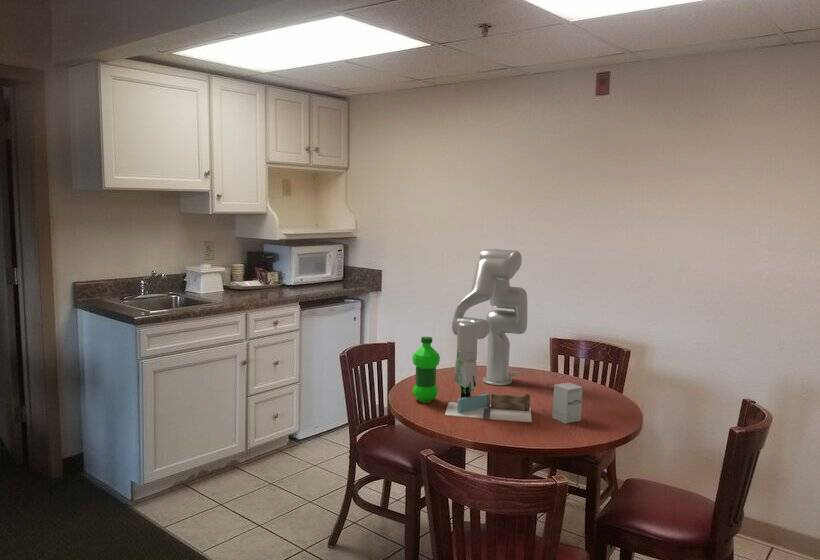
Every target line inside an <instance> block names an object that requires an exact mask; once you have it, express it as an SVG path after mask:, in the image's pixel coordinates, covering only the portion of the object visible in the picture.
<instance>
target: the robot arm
mask: <svg viewBox="0 0 820 560" xmlns="http://www.w3.org/2000/svg"><path fill="white" fill-rule="evenodd" d="M478 256H479V257H478V258H479V260H478V262H477V264H476V269H475V271H474V272H475V273H474V278H473V281H472V286H471V290H470V292H469V293H468V294H467V295H465V296H464V297H463V298H462V299H461V300H460V301H459V302H458V304H457V305H456V307H455V310H454V313H453V318H452V322H451V331H452V333H453V335H455V336H456V337H457V338H456V357H455V358H456V359H455V365H454V379H453V380H454V382H455V383H457V384H458V385H459V387H460V388H459V389H460V398H464V397H470V396H472V395H471V393H472V392H475V387H476V386H477V384H478V383H477V382H478V369H477V368H478V365H477V359H478V340H482V339H485V338H487V353H486V375H485V376H483V378H482V382H483V383H485V384H488V385H492V386H507V385H508V386H509V385H510V384H512V382H513V380H512V378H511V377H517V376H518V371H515V370H514V371H510V348H511V347H510V346H511V345H510V344H511V342H510V339H509V337H508V336H507V334H514V335H523V334H524V333H525V332H527V328H528V294H527V291H526V290H525V289H524V288H523V287H519V286H518V287H517V286H511V284H510V280H511V279H513V277H514V276H515V275H516V274H517V272H518V271H519V270H520V268H521V265H522V262H523V260H522V259H523V258H522V255H521V253H520V252H519V251H518V250H516V249H515V250H514V249H499V248H486V249H482V250H481V251H480V252H479V255H478ZM487 301H489V304H490V305H491V307H493V308H498V309H494V310H491V311H489V312H488V313H487V315H486V319H485V318H484V319H483V318H478V317H477V318H476V317H466V316H465V314H466V313H467V311H468V310H469V309H470V308H472V307H473V306H476V305H479V304H482V303H484V302H487ZM503 309H505V310H503ZM506 309H507V310H506ZM512 310H513V311H512Z"/></svg>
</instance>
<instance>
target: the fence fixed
mask: <svg viewBox="0 0 820 560" xmlns="http://www.w3.org/2000/svg"><path fill="white" fill-rule="evenodd" d="M530 404H531V394H530V393H525V394H524V395H516V394H499V393H490V405H491V408H500V409H514V410H525V411H529V408H531V407H530V406H531V405H530Z"/></svg>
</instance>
